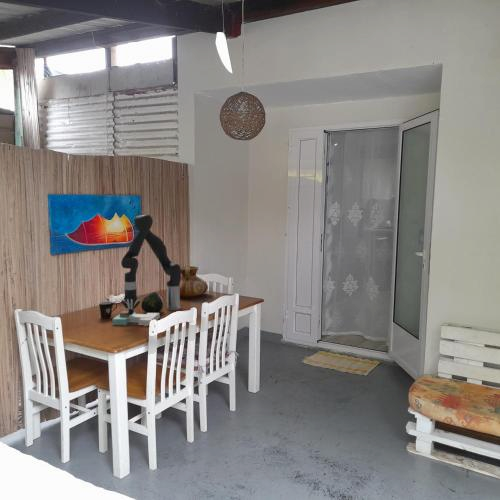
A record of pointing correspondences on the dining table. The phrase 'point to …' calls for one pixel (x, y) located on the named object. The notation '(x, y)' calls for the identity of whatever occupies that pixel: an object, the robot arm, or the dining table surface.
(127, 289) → the robot arm
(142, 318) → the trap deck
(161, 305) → the squash
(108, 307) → the coffee mug
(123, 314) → the walnut block
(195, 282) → the jug
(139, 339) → the dining table surface
